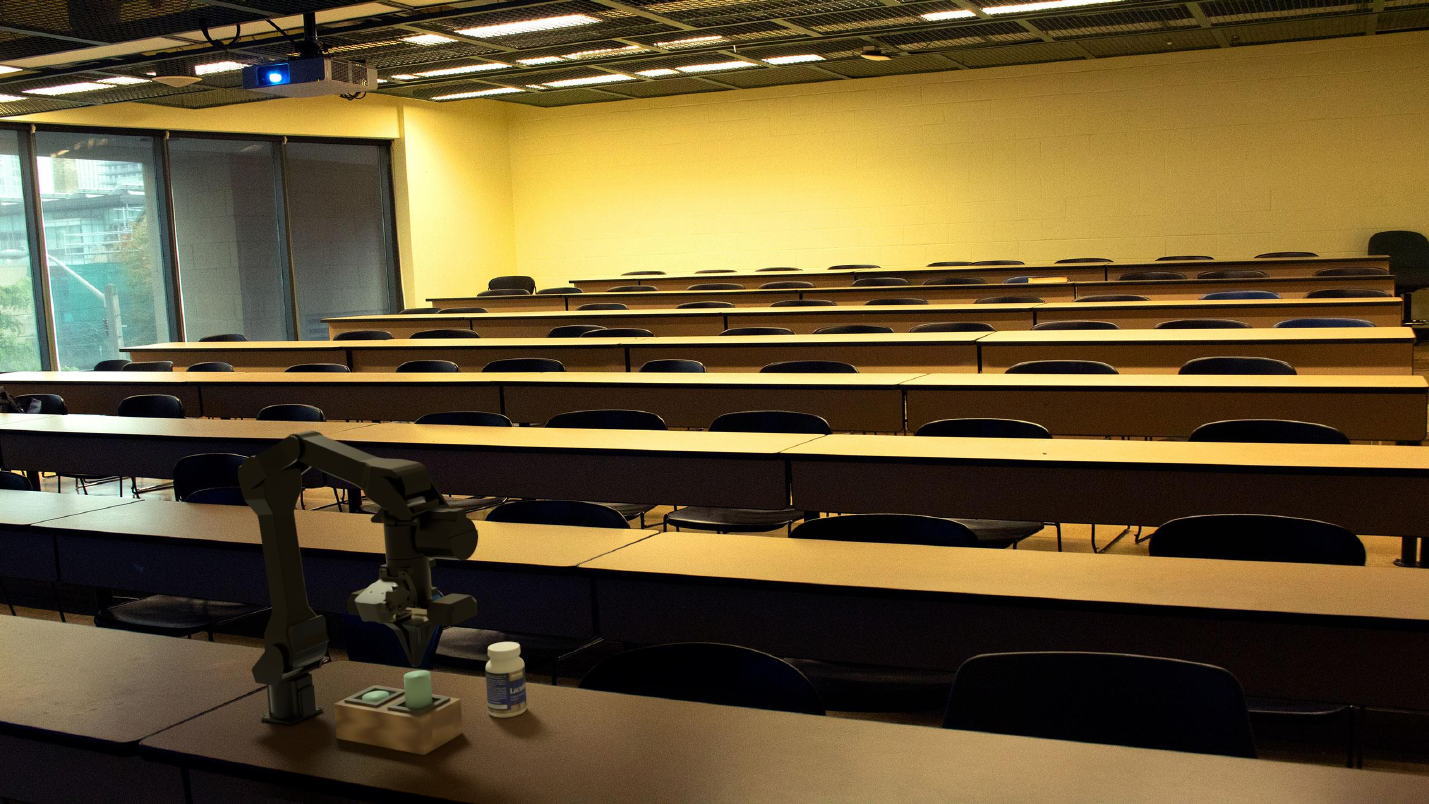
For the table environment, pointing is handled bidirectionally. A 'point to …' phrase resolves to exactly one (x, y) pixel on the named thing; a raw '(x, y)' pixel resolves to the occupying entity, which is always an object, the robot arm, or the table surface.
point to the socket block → (398, 721)
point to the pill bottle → (505, 680)
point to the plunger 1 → (375, 696)
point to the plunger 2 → (418, 689)
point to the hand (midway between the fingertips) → (415, 665)
